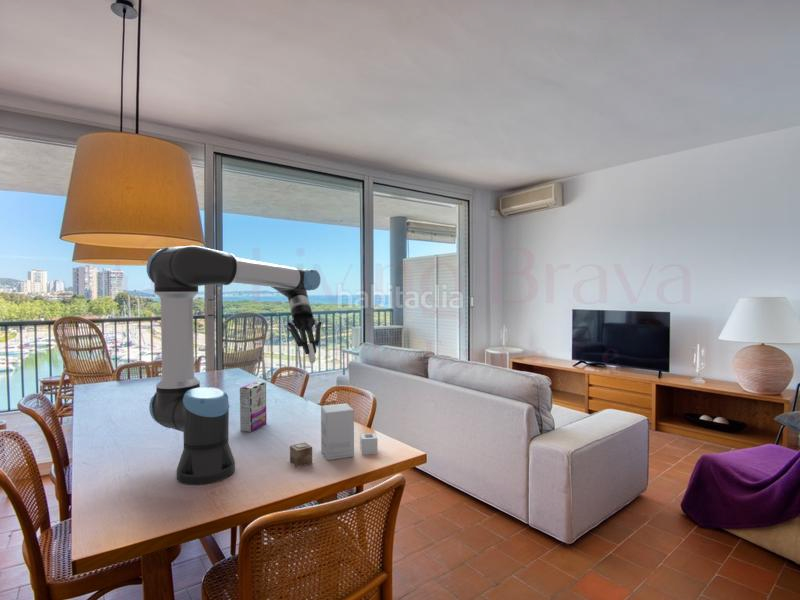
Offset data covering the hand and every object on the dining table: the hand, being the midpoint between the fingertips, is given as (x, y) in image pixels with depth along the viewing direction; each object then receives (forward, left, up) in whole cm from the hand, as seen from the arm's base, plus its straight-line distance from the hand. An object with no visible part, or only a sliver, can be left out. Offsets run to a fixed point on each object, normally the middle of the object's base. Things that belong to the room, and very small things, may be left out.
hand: (312, 360), depth 147 cm
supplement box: (+4, -14, -28) cm, 32 cm away
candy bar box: (-16, +25, -28) cm, 41 cm away
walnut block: (-8, -16, -28) cm, 33 cm away
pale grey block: (+14, -17, -28) cm, 36 cm away
